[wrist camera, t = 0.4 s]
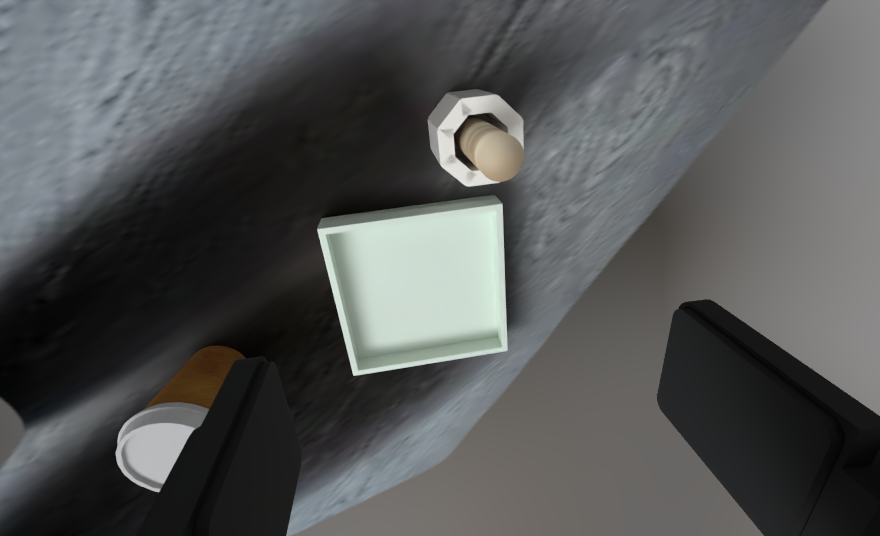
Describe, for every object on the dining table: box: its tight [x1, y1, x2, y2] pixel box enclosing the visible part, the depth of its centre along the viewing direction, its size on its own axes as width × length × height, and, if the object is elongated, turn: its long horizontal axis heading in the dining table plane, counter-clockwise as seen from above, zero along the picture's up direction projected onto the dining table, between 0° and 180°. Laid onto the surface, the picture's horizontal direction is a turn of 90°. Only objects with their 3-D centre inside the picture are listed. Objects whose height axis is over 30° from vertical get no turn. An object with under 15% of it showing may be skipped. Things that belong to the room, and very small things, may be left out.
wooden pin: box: [453, 115, 524, 182], centre depth 32 cm, size 3×3×12 cm
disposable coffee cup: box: [116, 346, 246, 492], centre depth 41 cm, size 10×10×12 cm
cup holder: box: [428, 89, 523, 187], centre depth 35 cm, size 7×7×7 cm
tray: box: [317, 195, 507, 376], centre depth 43 cm, size 17×17×3 cm
